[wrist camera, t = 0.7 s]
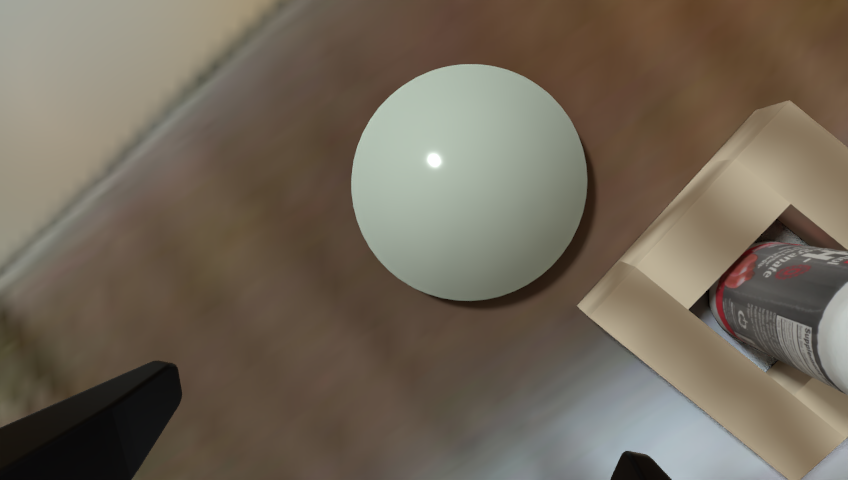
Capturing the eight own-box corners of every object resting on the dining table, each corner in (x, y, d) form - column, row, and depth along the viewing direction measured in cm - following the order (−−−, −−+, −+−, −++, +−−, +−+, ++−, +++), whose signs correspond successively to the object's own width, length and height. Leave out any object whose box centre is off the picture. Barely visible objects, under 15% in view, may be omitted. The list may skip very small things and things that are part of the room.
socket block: (763, 457, 21) (794, 484, 19) (576, 305, 21) (588, 317, 19) (959, 276, 19) (1016, 285, 17) (755, 110, 19) (789, 100, 17)
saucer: (595, 278, 21) (602, 282, 20) (378, 310, 22) (374, 316, 21) (563, 48, 20) (569, 40, 19) (337, 96, 21) (331, 91, 20)
